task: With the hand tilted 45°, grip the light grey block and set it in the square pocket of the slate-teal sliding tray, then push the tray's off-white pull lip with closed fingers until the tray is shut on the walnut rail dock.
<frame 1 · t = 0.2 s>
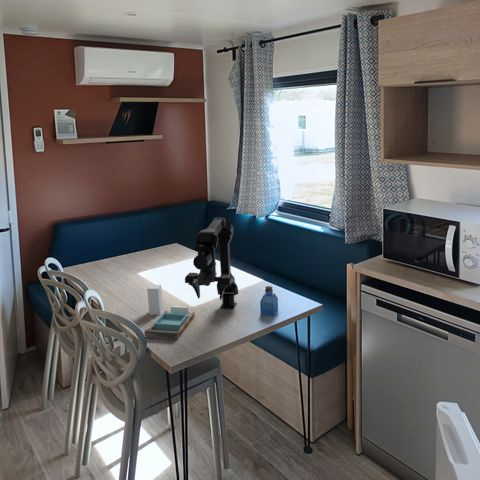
hand: (209, 298, 206), 15 cm above the table, tool pointing down, fingers open, 9 cm apart
light grey block: (156, 312, 232), on the table
perfume bottle: (269, 313, 228), on the table
dock: (167, 330, 212), on the table
tray: (173, 318, 219), point 2 cm above the table, slide at 5.0 cm
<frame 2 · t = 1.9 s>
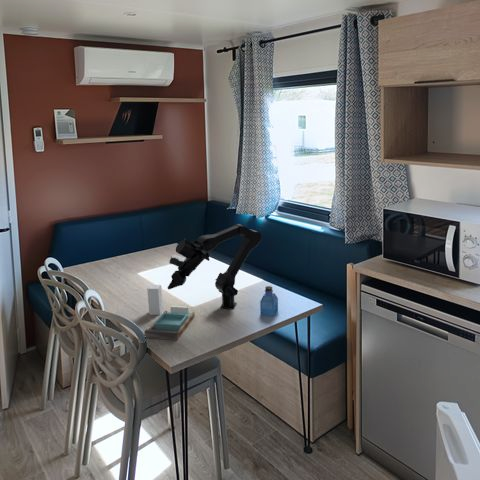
hand: (170, 285, 227), 13 cm above the table, tool tilted 45°, fingers open, 9 cm apart
nothing on the table moved.
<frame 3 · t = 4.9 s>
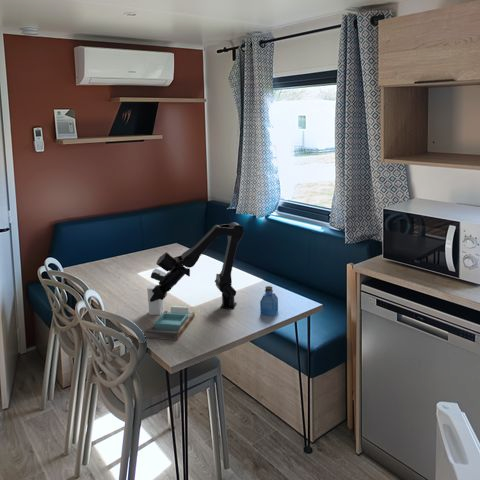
hand: (152, 298, 231), 7 cm above the table, tool tilted 45°, fingers closed on light grey block, 5 cm apart
light grey block: (156, 312, 232), on the table, touching gripper
everything else where it was.
when the fingers open (8 cm above the table, at t = 10.5 s): light grey block moves 2 cm, resting on tray.
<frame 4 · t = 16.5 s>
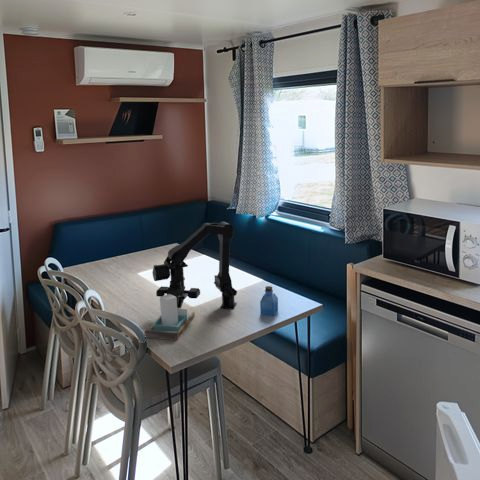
hand: (179, 310, 227), 3 cm above the table, tool pointing down, fingers closed
light grey block: (170, 324, 215), point 1 cm above the table, touching tray
tray: (172, 319, 218), point 2 cm above the table, slide at 3.4 cm, touching light grey block, gripper
everything else where it was.
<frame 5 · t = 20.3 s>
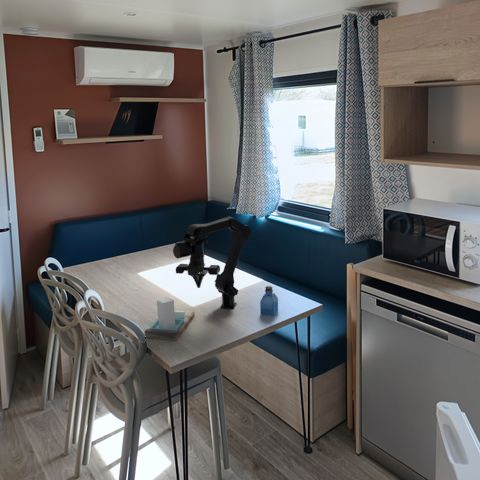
hand: (198, 287, 224), 13 cm above the table, tool pointing down, fingers closed
light grey block: (167, 328, 212), point 1 cm above the table, touching tray
tray: (169, 322, 215), point 2 cm above the table, slide at 0.0 cm, touching light grey block
everything else where it was.
at the end: tray slide at 0.0 cm; light grey block 0.0 cm off-centre on the dock, point 1.3 cm above the dock's base; light grey block tilted 0° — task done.
